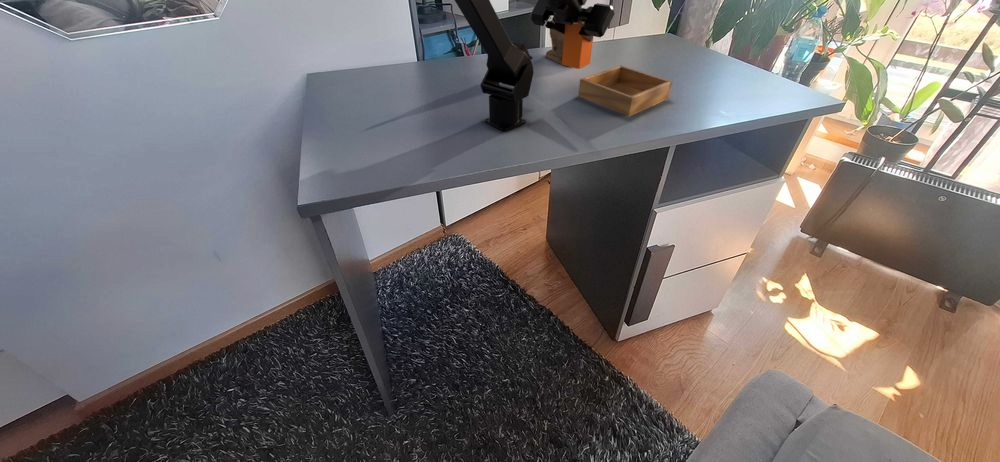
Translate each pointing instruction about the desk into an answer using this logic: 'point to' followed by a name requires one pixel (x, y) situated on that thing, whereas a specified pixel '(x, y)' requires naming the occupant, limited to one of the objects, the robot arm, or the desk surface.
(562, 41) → the worn brown figurine
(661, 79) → the wooden box
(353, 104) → the desk surface
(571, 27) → the orange square pillar
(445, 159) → the desk surface
